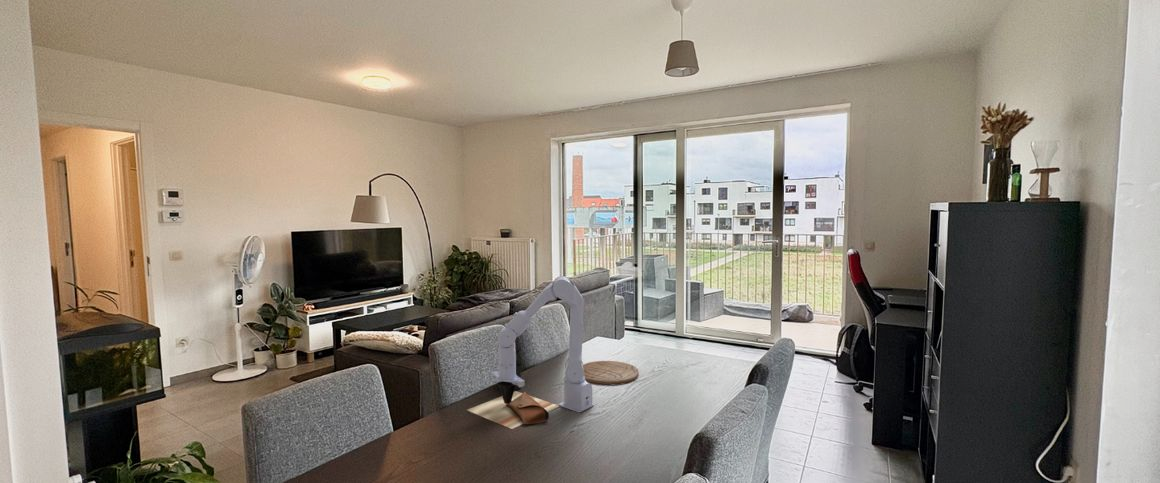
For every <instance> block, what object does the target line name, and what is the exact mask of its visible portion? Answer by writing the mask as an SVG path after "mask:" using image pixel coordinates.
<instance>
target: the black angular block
mask: <svg viewBox="0 0 1160 483" xmlns="http://www.w3.org/2000/svg"><path fill="white" fill-rule="evenodd" d="M515 350H516V375H517V376H518V377H519V378H521V379H522V374H521V367H522V363H521V362H520V357H519V352H520V349H518V347H517V346H515ZM521 388H522V387H518V386H516V388H515V390H514V391H517V390H520V389H521Z"/></svg>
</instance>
